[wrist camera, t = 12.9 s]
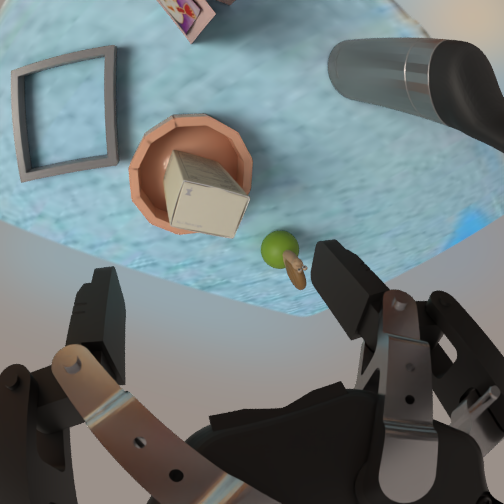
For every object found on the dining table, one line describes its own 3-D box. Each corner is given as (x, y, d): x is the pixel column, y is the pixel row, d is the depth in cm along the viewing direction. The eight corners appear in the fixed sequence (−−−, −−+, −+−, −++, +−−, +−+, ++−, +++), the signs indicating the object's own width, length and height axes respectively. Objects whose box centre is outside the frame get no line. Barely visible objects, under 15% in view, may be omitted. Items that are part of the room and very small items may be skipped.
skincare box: (162, 181, 33) (165, 227, 23) (173, 147, 31) (180, 178, 22) (210, 193, 36) (233, 241, 26) (222, 160, 34) (252, 197, 24)
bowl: (246, 113, 32) (255, 116, 29) (241, 215, 40) (248, 227, 37) (128, 118, 28) (125, 122, 25) (138, 226, 36) (137, 239, 33)
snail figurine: (283, 212, 42) (324, 258, 32) (293, 246, 45) (330, 294, 36) (249, 228, 41) (280, 279, 32) (261, 260, 45) (292, 314, 36)
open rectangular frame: (116, 47, 23) (114, 44, 21) (119, 160, 31) (116, 165, 29) (18, 71, 19) (11, 70, 18) (27, 177, 27) (21, 182, 25)
